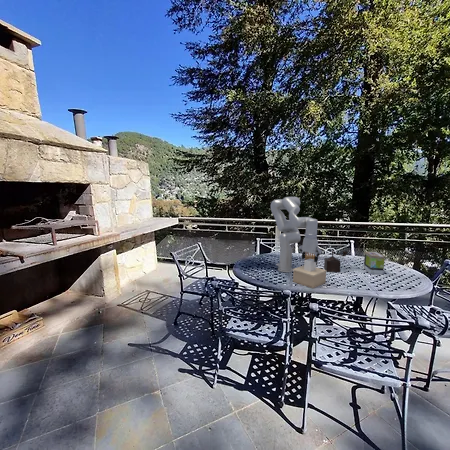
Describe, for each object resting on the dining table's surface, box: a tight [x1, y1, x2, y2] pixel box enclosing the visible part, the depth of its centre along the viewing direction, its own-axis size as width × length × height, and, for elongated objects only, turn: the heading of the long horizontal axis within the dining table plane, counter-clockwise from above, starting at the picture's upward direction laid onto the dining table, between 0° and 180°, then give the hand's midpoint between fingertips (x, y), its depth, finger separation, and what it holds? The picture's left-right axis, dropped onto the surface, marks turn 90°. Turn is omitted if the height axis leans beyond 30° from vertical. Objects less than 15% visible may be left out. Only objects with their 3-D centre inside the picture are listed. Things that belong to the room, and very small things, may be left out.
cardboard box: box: [292, 271, 327, 289], centre depth 177 cm, size 16×16×8 cm
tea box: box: [363, 251, 386, 276], centre depth 200 cm, size 15×10×15 cm, turn 168°
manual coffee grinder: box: [323, 250, 349, 273], centre depth 203 cm, size 16×11×18 cm
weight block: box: [303, 259, 317, 272], centre depth 176 cm, size 5×7×7 cm
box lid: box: [292, 264, 327, 277], centre depth 177 cm, size 16×17×1 cm
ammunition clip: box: [304, 252, 318, 266], centre depth 220 cm, size 11×2×12 cm, turn 83°
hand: (309, 260), depth 176 cm, fingers open, 9 cm apart
